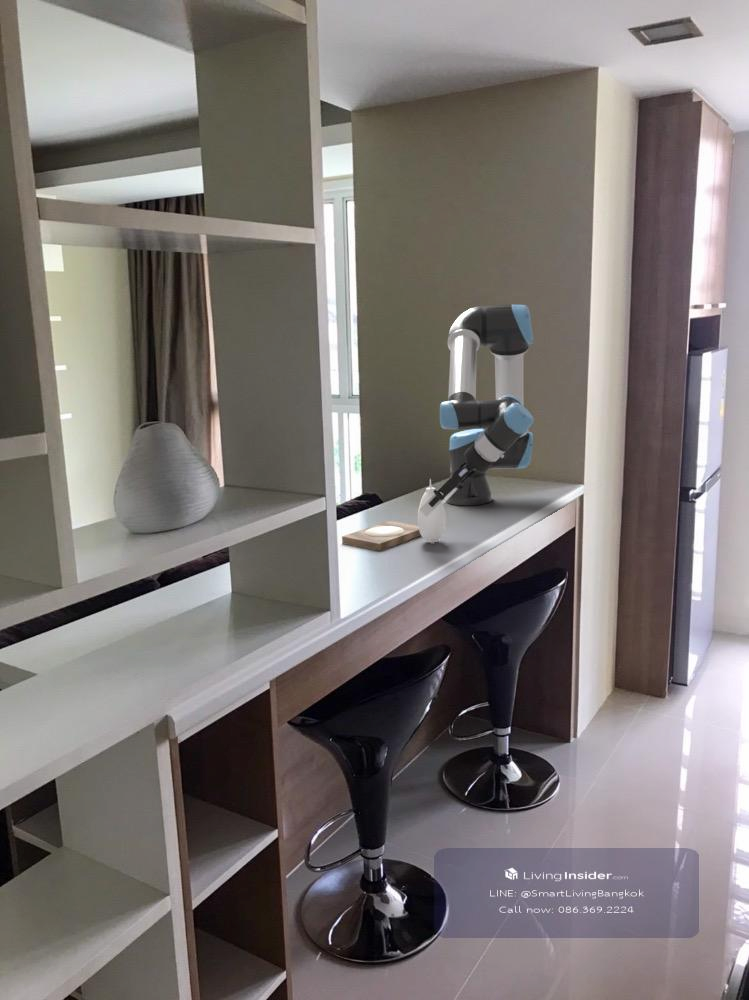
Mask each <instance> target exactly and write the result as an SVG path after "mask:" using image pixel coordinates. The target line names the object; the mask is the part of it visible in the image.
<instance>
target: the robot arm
mask: <svg viewBox="0 0 749 1000" xmlns="http://www.w3.org/2000/svg"><path fill="white" fill-rule="evenodd" d="M532 328H533V327H532V321H531V313H530V308H529V306H528V305H525V304H513V303H512V304H503V305H502V304H501V305H487V306H475V307H471V308H469V309H468V310H466V311H464V312H463V313H461V314H460V315H459V316H458V317H457V318H456V319H455V321H454V322H453V323H452V325H451V327H450V328H449V329H450V330H449V331H448V335H447V347H448V350H450V353H449V354H450V357H449V358H450V359H449V377H448V394H447V395H448V396H447V399H448V400H447V401H442V402H440V405H439V423H440V427H441V428H442V429H443V430H455V431H458V430H462V431H458V432H454V433H453V434H452V435H451V436H450V438H449V448H448V450H449V460H450V461H449V464H450V467H449V468H450V469H449V470H450V472H449V473H450V477H449V479H448V480H447V481H446V482H445V483H444V484H443V485H442V486H441V487H439V489H437V490H434V491H433V492H434V493H435V494H434V495H433V496H432V497H431V498H430V499H429V500H428V501H427V502H426V503H425V504H424V505H423V506H422V507H421V508H420V509H419V508H418V509H419V510H420V511H421V512H422V513H423V514H424V515H425V516H426V517H427V516H428V515H429V514H430V513H431V512H432V511H433V510H434V509H435V508H436V507H437V506H438V505H439V504H440V503H441V502H442V503H443V505H444V503H448V504H450V505H456V506H477V505H484V504H488V503H491V502H492V501H493V493H492V491H491V488H490V485H489V481H488V479H487V471H488V470H502V469H504V470H505V469H507V470H509V469H514V470H517V469H526V468H528V467H529V465H530V464H531V460H532V454H533V443H534V435H533V432H530V431H529V429H530V427H531V426H532V425H533V424H534V416H532V414H531V412H530V411H529V410H528V409H527V408H526V407H525V406H524V405H525V403H524V355H525V354H526V353H527V352H528V351H529V345H532V344H534V336H533V335H534V334H533V329H532ZM481 346H482V347H484V346H485V347H489V352H490V353H491V354H492V355H493V356H494V374H495V376H494V377H495V380H494V381H495V399H486V400H485V399H483V400H482V399H481V400H478V399H477V356H478V355H477V352H478V351H479V349H480V347H481ZM476 399H477V400H476ZM485 429H486V430H485Z"/></svg>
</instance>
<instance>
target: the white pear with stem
mask: <svg viewBox="0 0 749 1000" xmlns="http://www.w3.org/2000/svg"><path fill="white" fill-rule="evenodd" d="M434 490H436V488H435V487H433V486H432V479H431V478H429V487H426V488H425V491H424V493H423V495H422V497H421V499H420V502H419V506H418V509H417V521H416V522H417V526H418V528H419V532H420V534H421V536H420V537H422V539H423V540H425V542H427V543H429V542H430V543H429V544H435V543H434V542H436V543H439V541H440V539H442V538H443V536H444V534H445V532H446V527H447V515H446V509H445V506H444V504H443V503H442V502H441V503H440V504H439V505H438V506H437V507H436V508H435V509H434V510H433V511H432V512H431V513H430V514H429V515H428V516H427V517H426V516H425V515H424V514H423V513H422V512H421V511H420V510H419V509H420V508H421V507H422V506H423V505H424V504H425V503H426V502H427V501H428V500H429V499H430V498H431V497H432V496H433V495H434V494H435V493H434V492H433V491H434ZM436 491H437V490H436Z"/></svg>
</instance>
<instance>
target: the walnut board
mask: <svg viewBox="0 0 749 1000" xmlns="http://www.w3.org/2000/svg"><path fill="white" fill-rule="evenodd" d="M420 535H421V534H420V532H419V528H418V525H415V524H409V523H404V522H398V521H392V520H388V521H385V522H382V523H379V524H375V525H373V526H370V527H369V526H368V527H366V528H362V529H361V530H358V531H354V532H351V533H348V534H345V535H343V536H341V540H342V541H341V543H342V544H343V545H348V544H351V545H350V546H353V545H354V547H358V546H359V547H360V548H363V549H368V550H373V551H379V552H381V551H384V550H386V549H389V548H391V547H394V546H397V544H398V545H401V544H403V543H406V542H408V541H407V540H409V541H411V540H413V539H412V538H414V537H417V536H420ZM420 537H421V536H420ZM417 538H418V537H417ZM410 539H411V540H410ZM414 539H415V538H414ZM405 541H406V542H405ZM402 542H403V543H402ZM344 543H346V544H344ZM383 549H384V550H383Z"/></svg>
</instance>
